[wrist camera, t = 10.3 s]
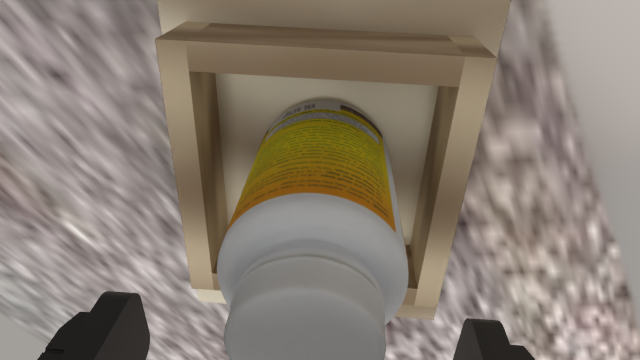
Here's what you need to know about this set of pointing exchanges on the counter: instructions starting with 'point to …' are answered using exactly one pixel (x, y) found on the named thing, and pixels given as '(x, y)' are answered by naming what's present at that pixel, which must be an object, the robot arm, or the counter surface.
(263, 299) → the supplement bottle
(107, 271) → the counter surface
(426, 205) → the cup caddy
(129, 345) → the robot arm
